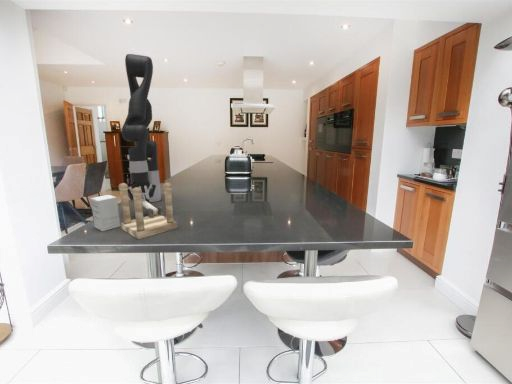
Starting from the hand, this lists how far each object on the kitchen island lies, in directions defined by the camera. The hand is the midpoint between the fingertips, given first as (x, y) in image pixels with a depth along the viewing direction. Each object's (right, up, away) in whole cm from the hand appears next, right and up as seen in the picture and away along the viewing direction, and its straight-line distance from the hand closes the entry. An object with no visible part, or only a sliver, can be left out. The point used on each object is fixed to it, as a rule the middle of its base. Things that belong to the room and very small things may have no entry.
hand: (142, 207), depth 123 cm
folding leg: (+9, -1, -8) cm, 12 cm away
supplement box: (-8, -7, -14) cm, 18 cm away
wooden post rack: (+9, -8, -16) cm, 20 cm away
